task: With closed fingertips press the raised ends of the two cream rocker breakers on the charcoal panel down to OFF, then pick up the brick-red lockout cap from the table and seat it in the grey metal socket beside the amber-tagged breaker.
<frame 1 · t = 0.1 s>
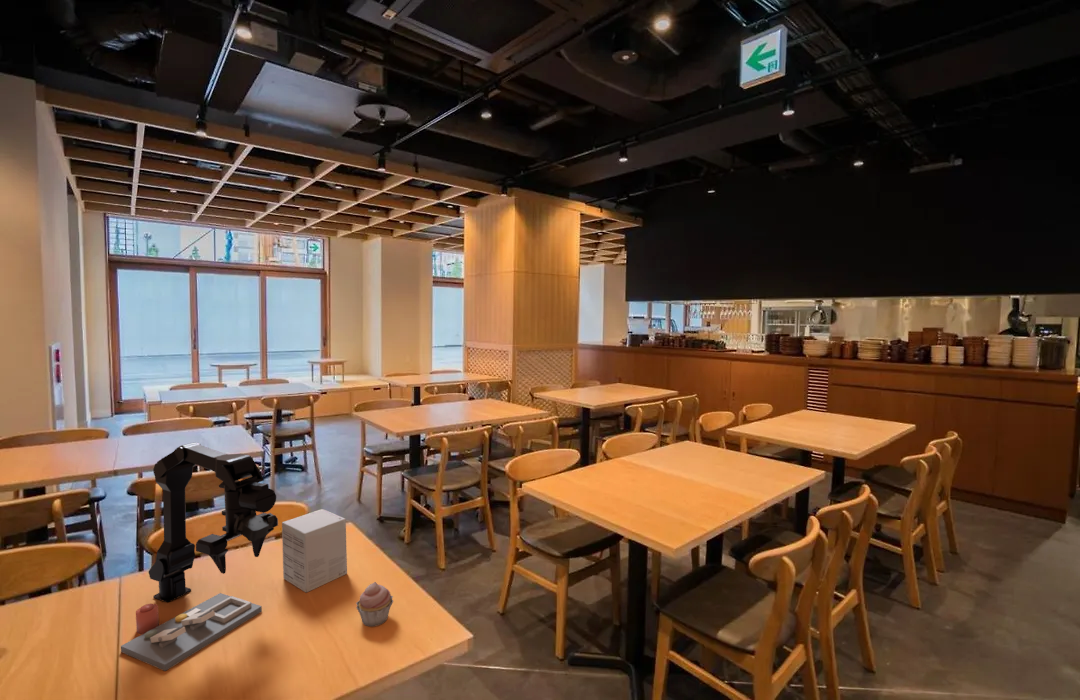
hand: (240, 564, 129), 15 cm above the table, fingers open, 9 cm apart
panel: (195, 630, 125), on the table
breaker b: (197, 617, 124), point 4 cm above the table, hinge at -20.0°
supplement box: (315, 577, 151), on the table
lockout cap: (148, 628, 126), on the table
cupcake: (375, 620, 130), on the table
breaker a: (167, 634, 118), point 4 cm above the table, hinge at -20.0°
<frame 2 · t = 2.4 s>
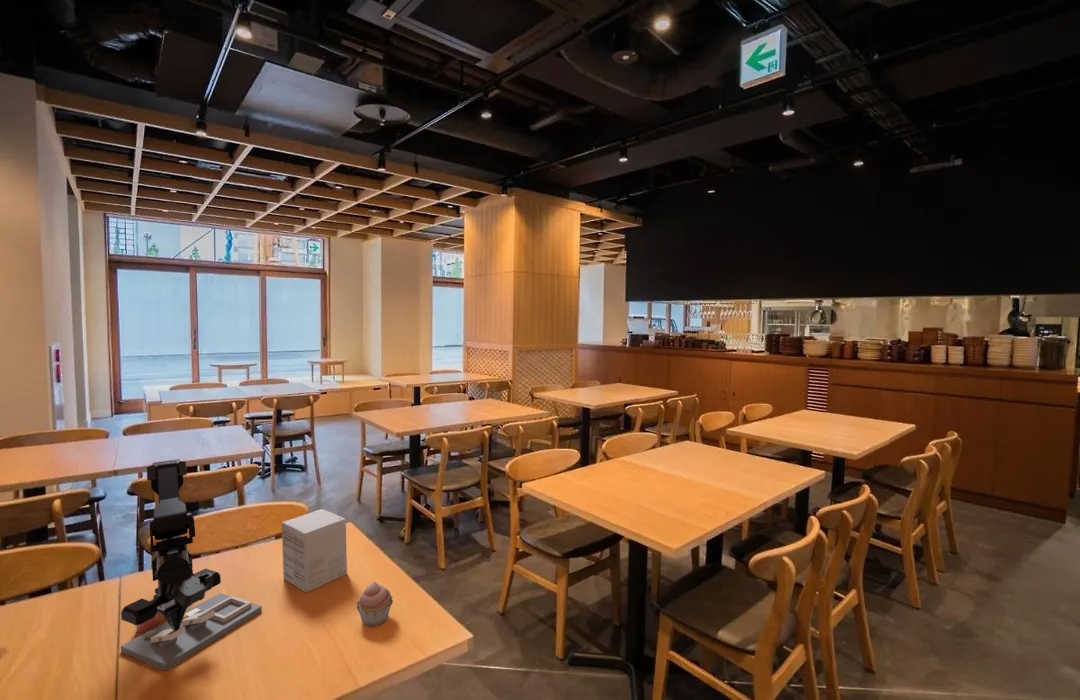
hand: (175, 629, 117), 5 cm above the table, fingers closed, pressing on breaker a
breaker a: (167, 634, 118), point 4 cm above the table, hinge at -20.0°, touching gripper
everything else where it was.
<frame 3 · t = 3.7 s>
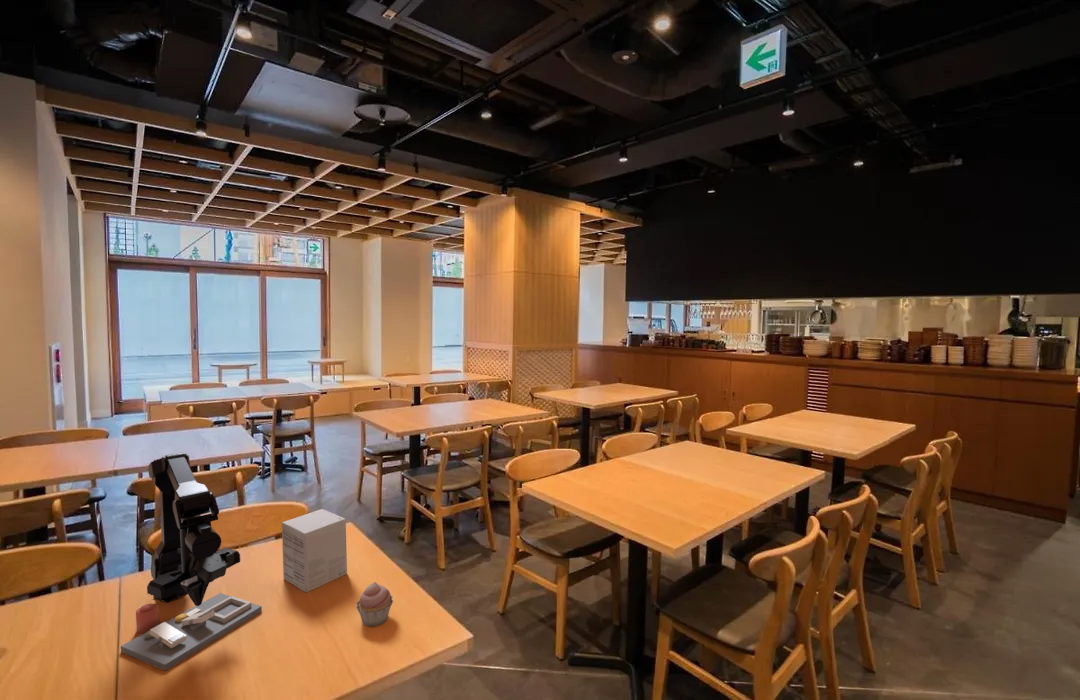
hand: (198, 605, 121), 9 cm above the table, fingers closed
breaker a: (168, 634, 118), point 4 cm above the table, hinge at 10.1°
everything else where it was.
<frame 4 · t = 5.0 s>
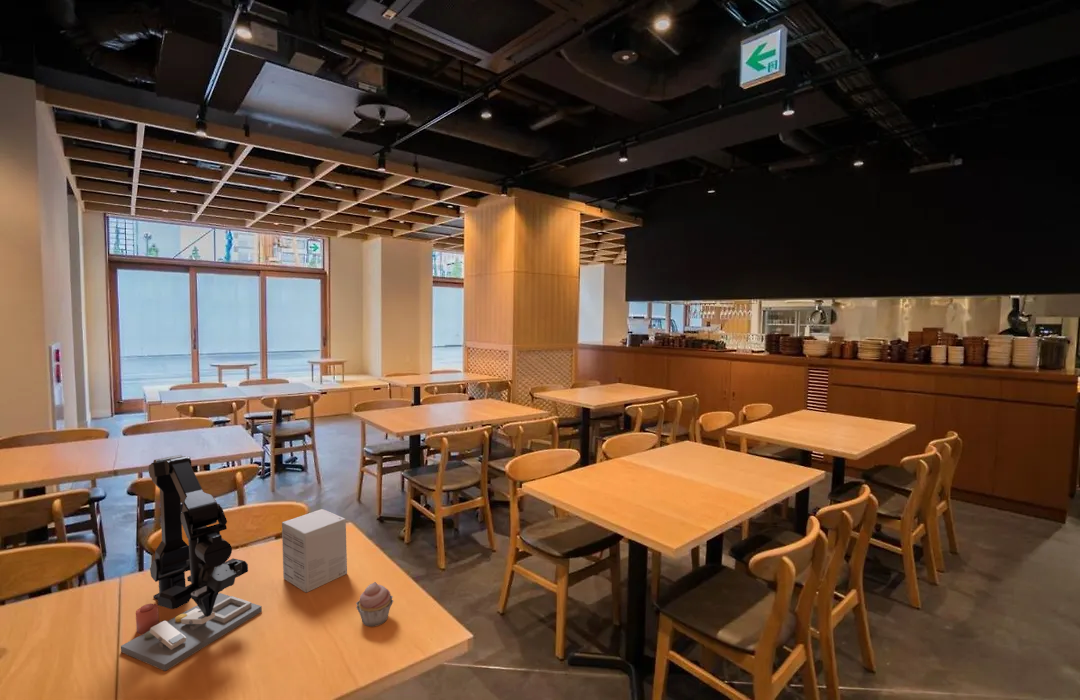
hand: (207, 615, 123), 5 cm above the table, fingers closed, pressing on breaker b
breaker b: (197, 617, 124), point 4 cm above the table, hinge at -14.1°, touching gripper
breaker a: (168, 634, 118), point 4 cm above the table, hinge at 16.4°
everything else where it was.
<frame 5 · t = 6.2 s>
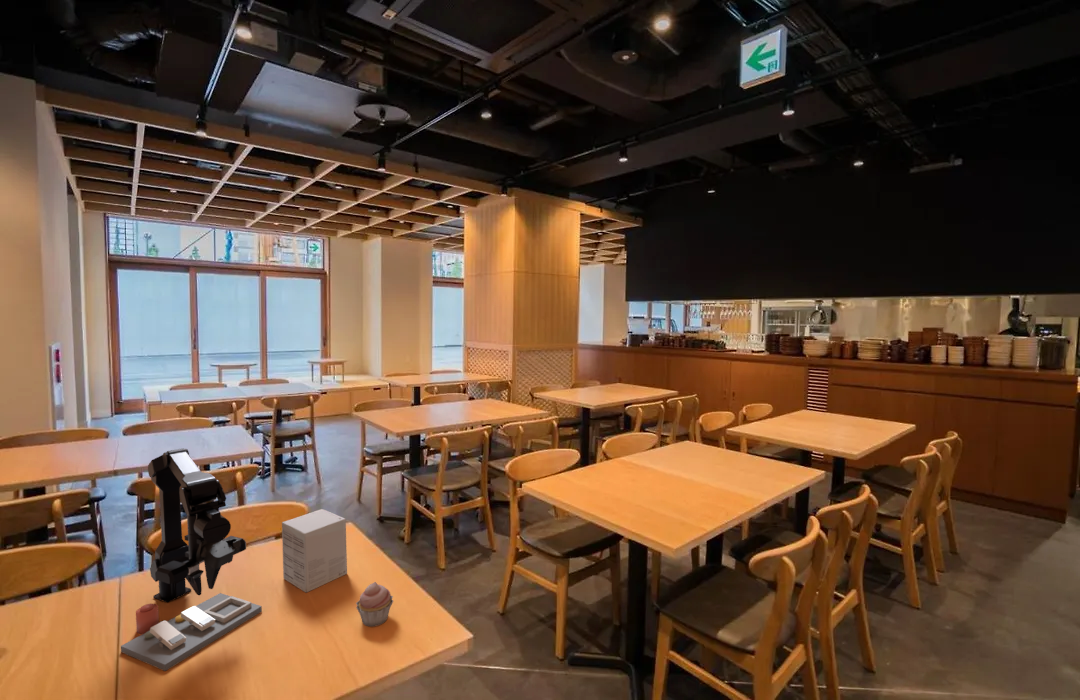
hand: (205, 591, 123), 11 cm above the table, fingers open, 3 cm apart
breaker b: (198, 617, 124), point 4 cm above the table, hinge at 12.4°
breaker a: (168, 634, 118), point 4 cm above the table, hinge at 17.4°
everything else where it was.
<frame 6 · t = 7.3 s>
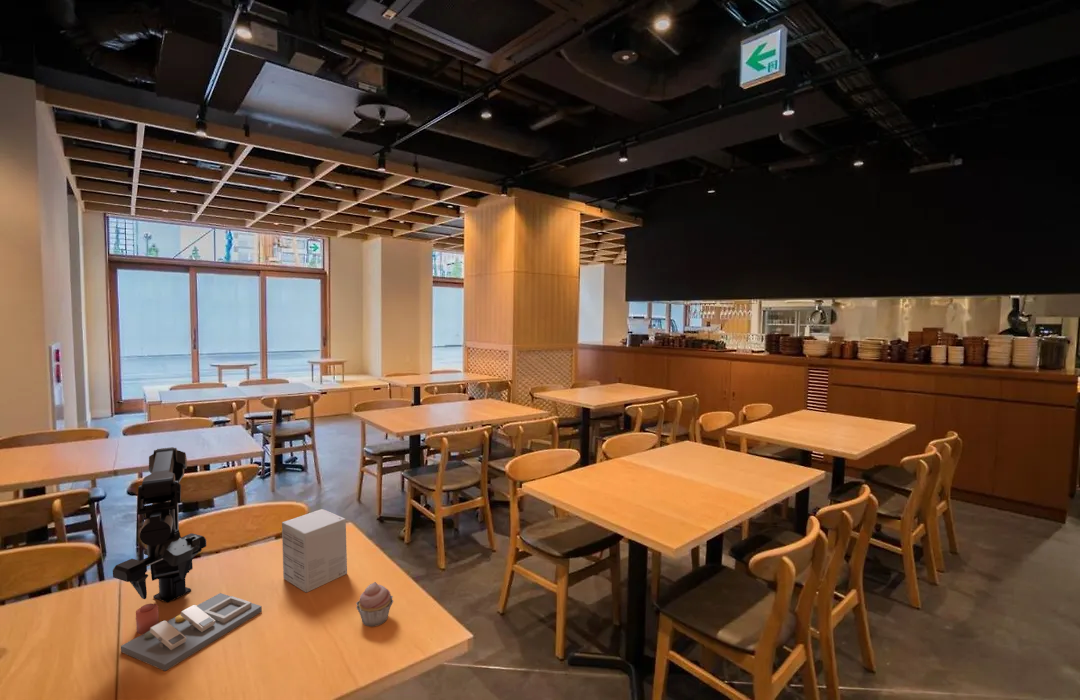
hand: (164, 588, 124), 11 cm above the table, fingers open, 9 cm apart
breaker b: (198, 617, 124), point 4 cm above the table, hinge at 17.0°
everything else where it was.
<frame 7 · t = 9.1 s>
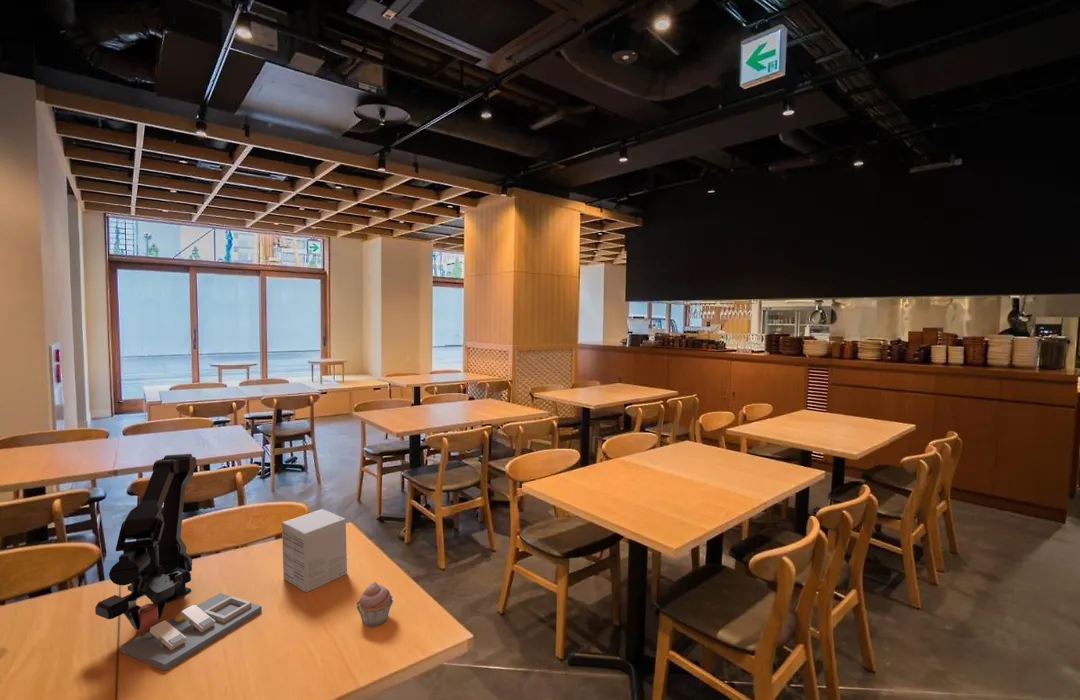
hand: (147, 624, 126), 1 cm above the table, fingers closed on lockout cap, 4 cm apart
breaker b: (198, 617, 124), point 4 cm above the table, hinge at 18.3°
lockout cap: (148, 628, 126), on the table, touching gripper
everything else where it was.
when the fingers open (4 cm above the table, at t = 12.9 s): lockout cap drops 1 cm, resting on panel.
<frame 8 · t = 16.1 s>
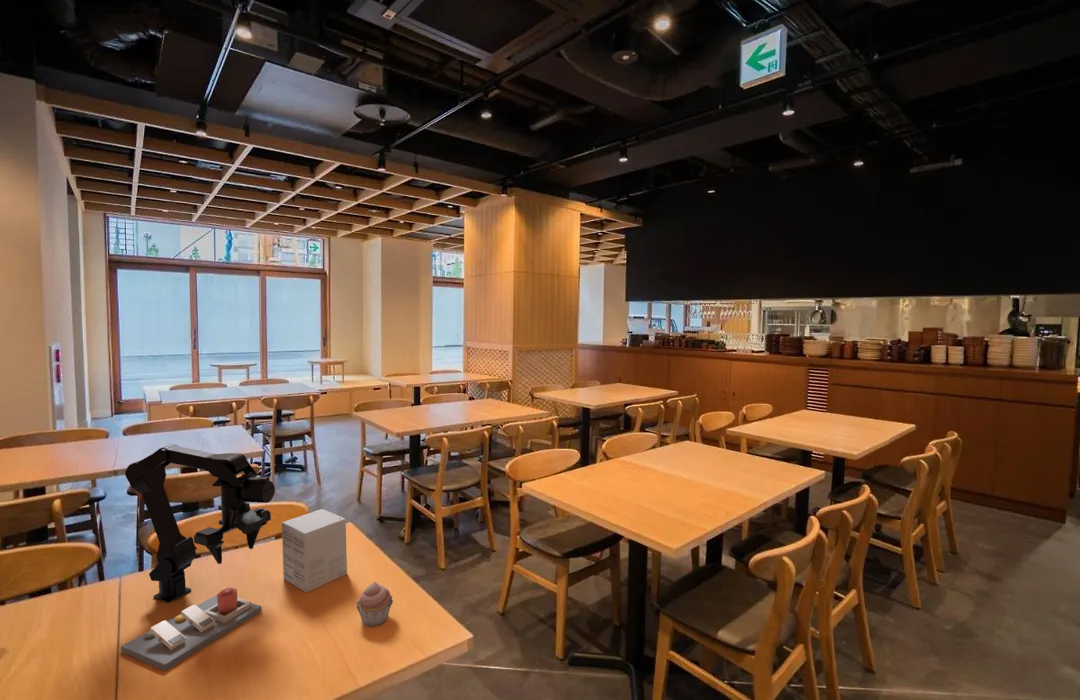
hand: (235, 555, 138), 12 cm above the table, fingers open, 9 cm apart
lockout cap: (228, 611, 130), point 2 cm above the table, touching panel
everything else where it was.
at the end: breaker b at +18° (first picture: -20°); lockout cap 0.0 cm from the target spot on the panel, point 1.5 cm above the panel's base; lockout cap tilted 0° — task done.
